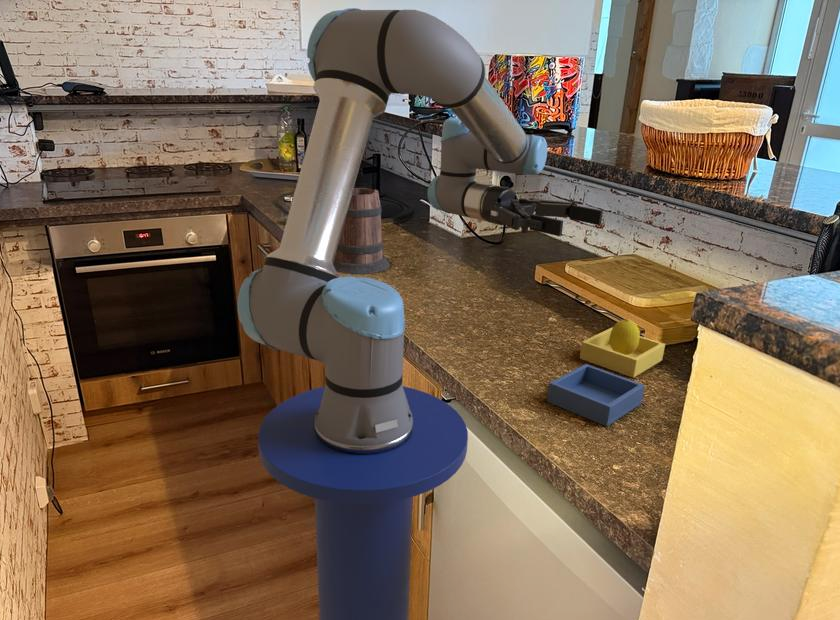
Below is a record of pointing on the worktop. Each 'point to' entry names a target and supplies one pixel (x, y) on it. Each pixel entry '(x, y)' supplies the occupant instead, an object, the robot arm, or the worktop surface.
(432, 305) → the worktop surface
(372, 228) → the tankard
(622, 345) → the lemon
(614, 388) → the blue bin
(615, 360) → the yellow bin
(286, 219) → the figurine
